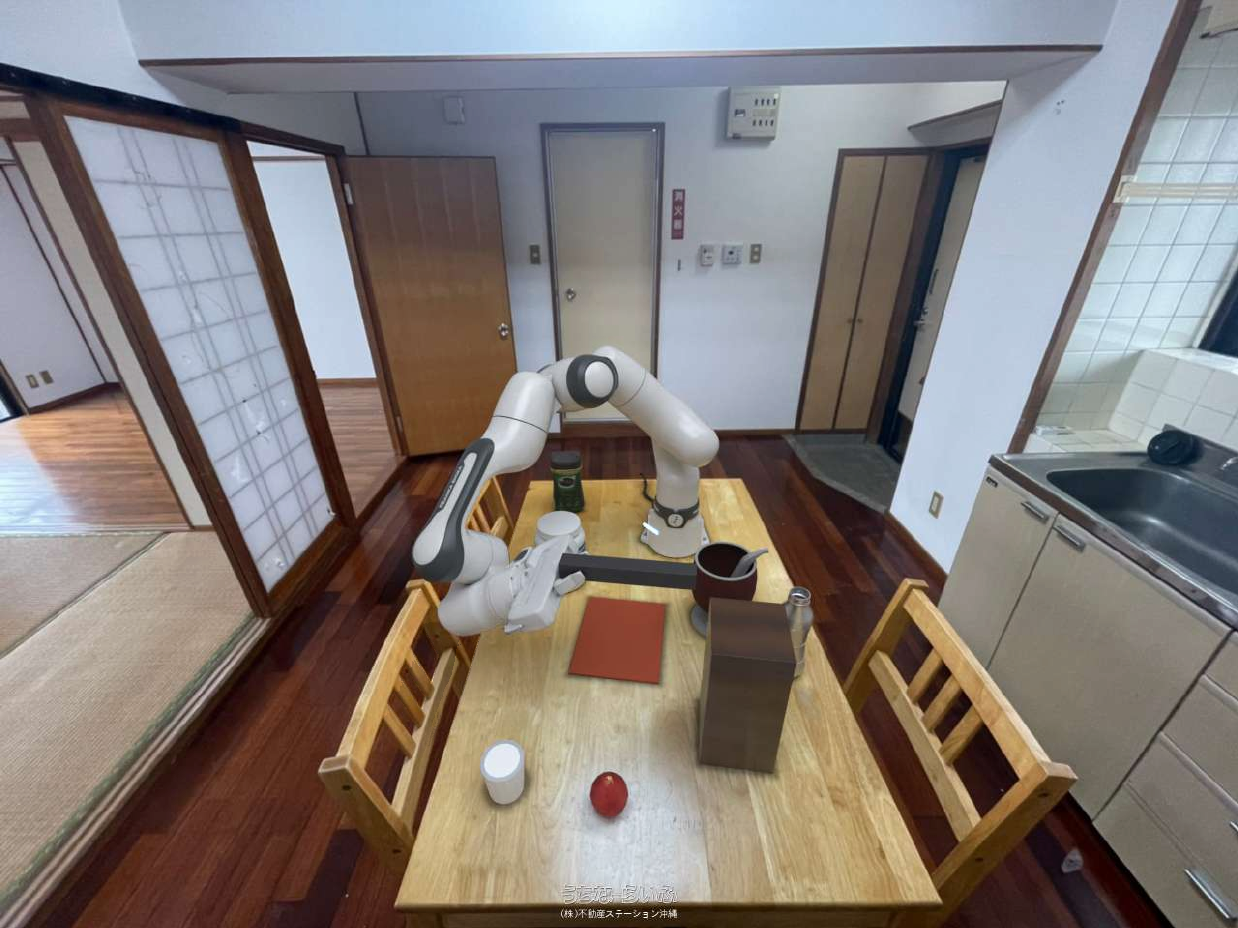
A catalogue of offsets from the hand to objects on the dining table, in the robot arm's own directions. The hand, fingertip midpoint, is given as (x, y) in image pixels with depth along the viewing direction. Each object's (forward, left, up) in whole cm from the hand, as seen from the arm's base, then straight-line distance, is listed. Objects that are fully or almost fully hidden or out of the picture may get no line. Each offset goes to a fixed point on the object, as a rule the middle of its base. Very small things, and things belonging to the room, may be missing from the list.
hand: (586, 565), depth 84 cm
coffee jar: (-66, -20, -32) cm, 76 cm away
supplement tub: (-33, -14, -32) cm, 48 cm away
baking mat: (-16, +3, -32) cm, 36 cm away
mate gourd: (-24, +25, -32) cm, 47 cm away
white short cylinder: (+18, -11, -32) cm, 38 cm away
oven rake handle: (0, +7, -2) cm, 7 cm away
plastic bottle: (-12, +37, -32) cm, 50 cm away
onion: (+19, +6, -32) cm, 38 cm away
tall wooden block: (+4, +26, -32) cm, 42 cm away
